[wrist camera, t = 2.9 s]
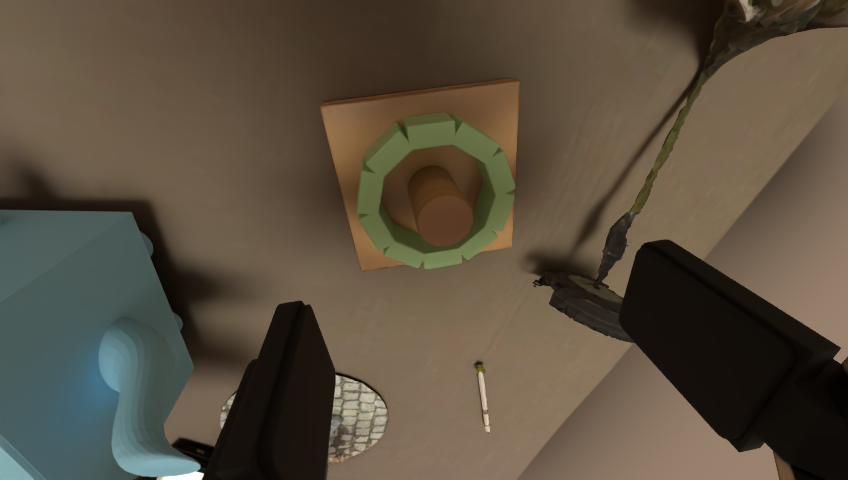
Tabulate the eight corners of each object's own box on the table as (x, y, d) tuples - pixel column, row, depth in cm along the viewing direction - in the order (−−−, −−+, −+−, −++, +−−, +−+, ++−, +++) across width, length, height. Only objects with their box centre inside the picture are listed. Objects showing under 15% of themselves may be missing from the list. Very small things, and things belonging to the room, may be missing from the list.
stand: (322, 102, 15) (303, 124, 11) (510, 78, 16) (563, 89, 11) (361, 260, 20) (358, 319, 15) (505, 237, 20) (540, 288, 16)
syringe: (490, 441, 30) (481, 434, 31) (495, 432, 31) (486, 426, 31) (481, 371, 25) (471, 366, 26) (487, 363, 26) (477, 357, 26)
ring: (342, 125, 14) (338, 135, 13) (503, 103, 15) (519, 111, 13) (371, 257, 18) (372, 278, 17) (499, 236, 19) (512, 255, 17)
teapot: (-241, 137, 13) (-2138, 419, 3) (252, 158, 16) (61, 337, 6) (-8, 391, 21) (-338, 692, 11) (291, 373, 24) (235, 598, 14)
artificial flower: (490, 262, 23) (517, 357, 13) (683, -150, 15) (1061, -603, 6) (607, 304, 23) (715, 426, 14) (853, -79, 16) (1472, -397, 6)
